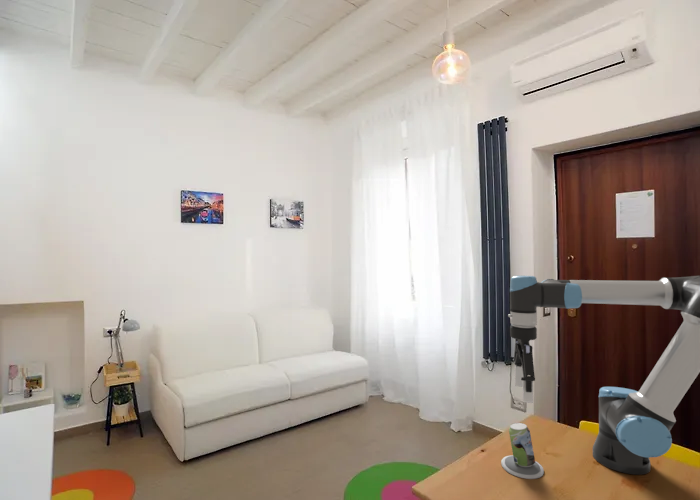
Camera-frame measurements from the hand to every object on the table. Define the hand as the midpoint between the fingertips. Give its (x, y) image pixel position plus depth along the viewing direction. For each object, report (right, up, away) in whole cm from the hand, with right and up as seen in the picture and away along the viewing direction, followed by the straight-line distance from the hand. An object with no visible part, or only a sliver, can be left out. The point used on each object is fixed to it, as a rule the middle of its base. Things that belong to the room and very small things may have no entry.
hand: (523, 393), depth 120 cm
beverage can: (-1, -22, 0) cm, 22 cm away
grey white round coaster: (-1, -23, 0) cm, 23 cm away
